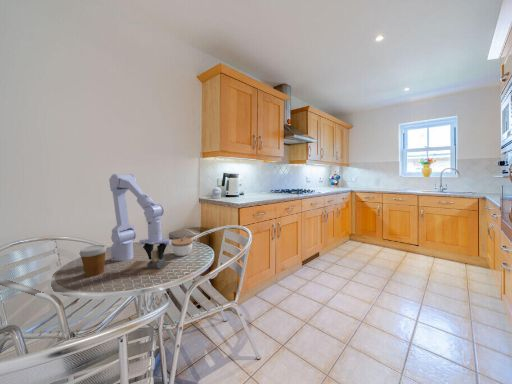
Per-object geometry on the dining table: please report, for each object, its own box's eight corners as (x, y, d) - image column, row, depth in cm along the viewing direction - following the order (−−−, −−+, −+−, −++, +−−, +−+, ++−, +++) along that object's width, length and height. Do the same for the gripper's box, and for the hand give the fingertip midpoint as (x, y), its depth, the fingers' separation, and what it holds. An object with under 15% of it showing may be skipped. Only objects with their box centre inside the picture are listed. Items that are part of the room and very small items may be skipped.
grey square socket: (144, 268, 98) (144, 263, 98) (153, 262, 105) (153, 257, 105) (159, 269, 98) (159, 263, 98) (167, 262, 105) (166, 257, 105)
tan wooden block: (151, 266, 100) (151, 251, 99) (156, 262, 104) (155, 248, 103) (156, 266, 100) (156, 251, 99) (161, 262, 103) (160, 248, 103)
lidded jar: (186, 259, 111) (186, 241, 110) (167, 258, 113) (167, 240, 112) (196, 252, 121) (195, 236, 121) (179, 251, 123) (178, 235, 123)
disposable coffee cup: (94, 280, 89) (92, 252, 88) (75, 279, 90) (73, 251, 89) (113, 270, 98) (111, 245, 97) (95, 269, 100) (93, 244, 99)
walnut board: (116, 275, 94) (116, 273, 94) (136, 262, 108) (136, 260, 107) (156, 276, 92) (156, 274, 92) (171, 263, 106) (171, 261, 106)
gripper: (134, 232, 97) (136, 262, 98) (165, 233, 96) (166, 262, 97) (143, 228, 104) (145, 256, 105) (172, 229, 103) (173, 256, 104)
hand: (156, 259), depth 101 cm, fingers open, 4 cm apart
